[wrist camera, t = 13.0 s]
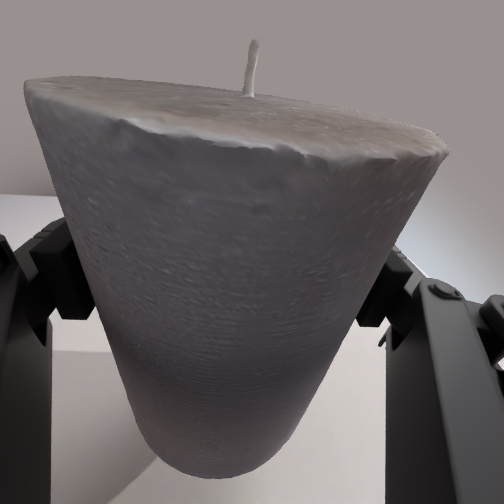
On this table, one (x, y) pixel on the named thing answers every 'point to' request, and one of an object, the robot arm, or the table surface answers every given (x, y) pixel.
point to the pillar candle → (225, 245)
